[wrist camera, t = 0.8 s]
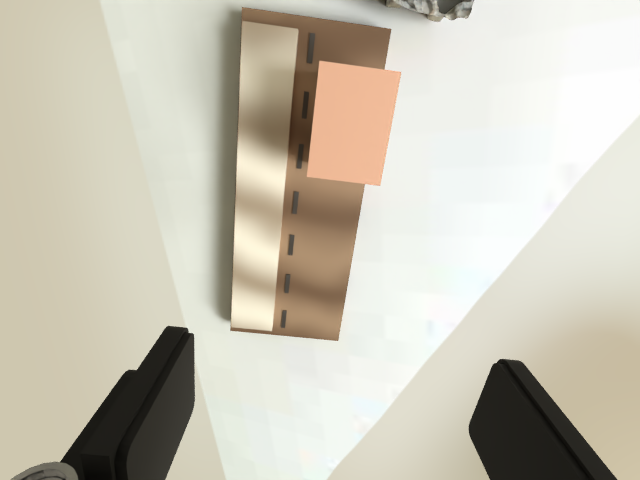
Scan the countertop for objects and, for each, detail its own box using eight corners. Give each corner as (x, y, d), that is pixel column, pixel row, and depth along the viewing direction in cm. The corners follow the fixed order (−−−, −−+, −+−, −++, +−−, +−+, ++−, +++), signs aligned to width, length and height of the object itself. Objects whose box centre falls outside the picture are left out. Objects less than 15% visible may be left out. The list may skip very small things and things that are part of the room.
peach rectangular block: (318, 71, 26) (319, 60, 20) (382, 80, 26) (401, 72, 21) (308, 163, 28) (306, 176, 23) (367, 171, 29) (380, 185, 23)
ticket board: (245, 12, 26) (239, 3, 24) (387, 33, 27) (393, 26, 24) (233, 322, 36) (228, 335, 34) (337, 331, 36) (338, 345, 34)
